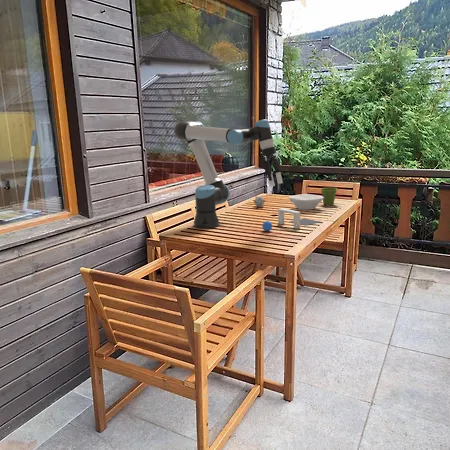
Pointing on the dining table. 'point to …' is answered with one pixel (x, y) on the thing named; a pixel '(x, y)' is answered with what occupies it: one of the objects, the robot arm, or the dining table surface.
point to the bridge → (296, 213)
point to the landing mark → (307, 221)
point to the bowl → (306, 201)
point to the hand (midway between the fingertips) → (276, 185)
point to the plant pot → (328, 195)
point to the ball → (267, 225)
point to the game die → (259, 201)
